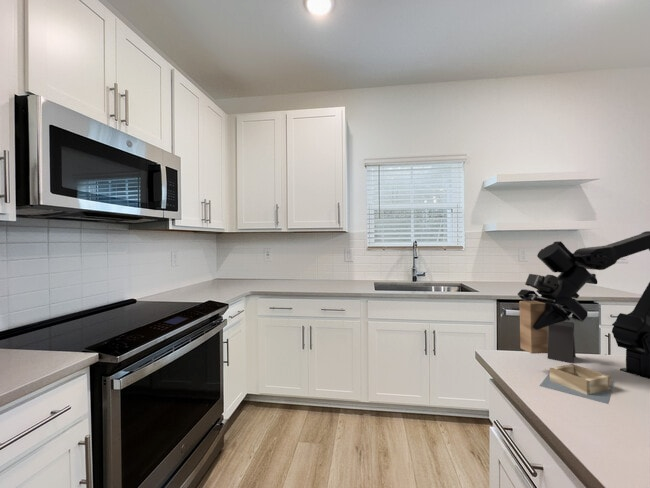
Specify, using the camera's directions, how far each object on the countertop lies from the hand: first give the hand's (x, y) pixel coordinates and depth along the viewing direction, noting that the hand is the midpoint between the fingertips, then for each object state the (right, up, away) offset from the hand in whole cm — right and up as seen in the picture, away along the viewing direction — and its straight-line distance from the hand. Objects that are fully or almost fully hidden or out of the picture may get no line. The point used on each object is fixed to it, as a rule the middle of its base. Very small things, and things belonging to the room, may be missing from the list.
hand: (528, 326), depth 84 cm
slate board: (+7, -13, -7) cm, 17 cm away
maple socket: (+7, -12, -8) cm, 16 cm away
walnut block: (+1, -7, 0) cm, 7 cm away
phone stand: (+18, -14, +11) cm, 25 cm away
